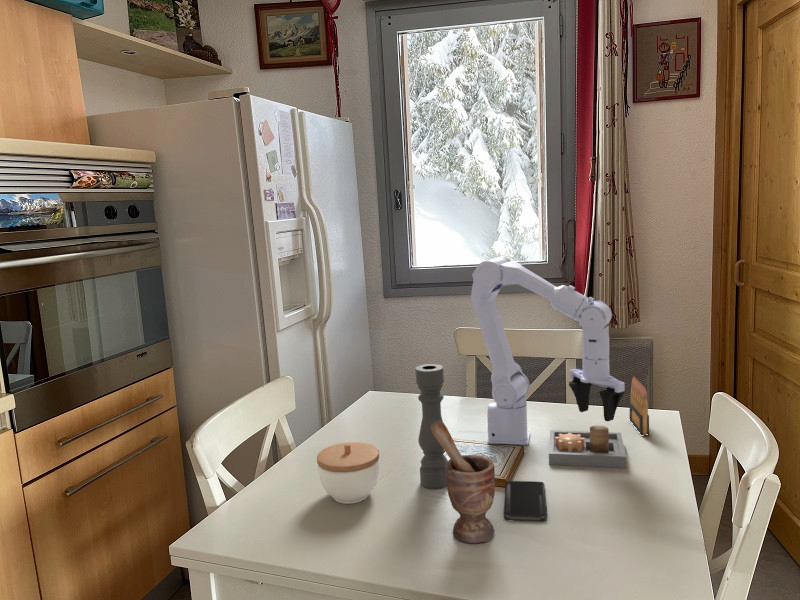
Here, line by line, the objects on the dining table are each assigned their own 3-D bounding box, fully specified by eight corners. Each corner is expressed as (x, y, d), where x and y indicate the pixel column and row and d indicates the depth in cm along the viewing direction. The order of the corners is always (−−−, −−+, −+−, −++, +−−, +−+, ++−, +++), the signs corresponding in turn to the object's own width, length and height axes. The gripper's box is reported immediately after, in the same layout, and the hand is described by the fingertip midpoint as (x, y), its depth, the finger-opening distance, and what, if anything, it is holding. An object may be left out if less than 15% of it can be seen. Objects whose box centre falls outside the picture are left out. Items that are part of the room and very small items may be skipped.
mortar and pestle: (427, 542, 114) (421, 433, 110) (437, 517, 122) (432, 416, 119) (493, 548, 111) (489, 436, 107) (499, 522, 119) (495, 418, 116)
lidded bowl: (354, 476, 142) (350, 428, 140) (394, 493, 133) (391, 442, 131) (307, 497, 133) (303, 446, 131) (347, 517, 124) (343, 462, 122)
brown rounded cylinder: (600, 459, 144) (599, 433, 143) (586, 453, 147) (586, 428, 146) (612, 454, 146) (612, 429, 145) (598, 449, 149) (598, 424, 148)
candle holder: (454, 478, 138) (448, 364, 134) (443, 491, 133) (437, 372, 129) (427, 474, 141) (421, 362, 137) (415, 486, 135) (409, 370, 131)
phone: (503, 516, 120) (505, 480, 134) (503, 522, 120) (506, 485, 134) (547, 518, 118) (544, 481, 133) (547, 523, 118) (545, 486, 133)
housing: (548, 464, 142) (548, 449, 142) (550, 440, 156) (550, 426, 155) (626, 467, 138) (626, 452, 138) (620, 442, 152) (620, 428, 151)
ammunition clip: (649, 436, 155) (649, 387, 153) (641, 436, 155) (641, 388, 153) (636, 420, 165) (636, 375, 163) (629, 420, 165) (629, 375, 163)
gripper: (559, 353, 148) (560, 410, 151) (607, 366, 136) (608, 428, 138) (582, 348, 152) (582, 404, 154) (631, 360, 139) (631, 421, 141)
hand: (596, 415), depth 146 cm, fingers open, 7 cm apart
